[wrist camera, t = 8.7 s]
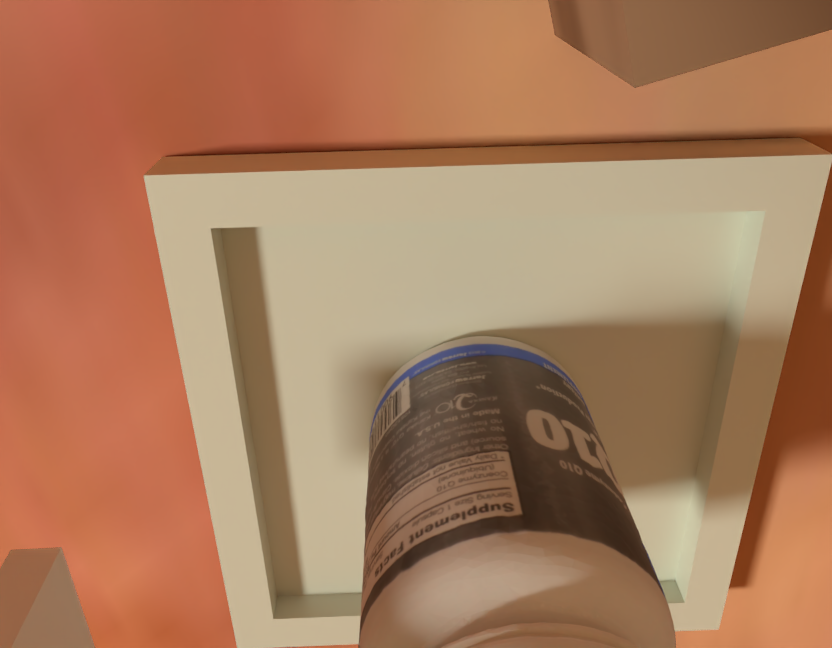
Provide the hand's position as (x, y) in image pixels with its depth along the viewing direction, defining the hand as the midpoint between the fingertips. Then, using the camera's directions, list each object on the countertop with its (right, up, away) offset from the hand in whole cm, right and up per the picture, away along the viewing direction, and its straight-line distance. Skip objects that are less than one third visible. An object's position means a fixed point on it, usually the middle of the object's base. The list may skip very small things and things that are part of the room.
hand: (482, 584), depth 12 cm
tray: (0, +2, +5) cm, 5 cm away
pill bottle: (0, +2, +4) cm, 5 cm away
